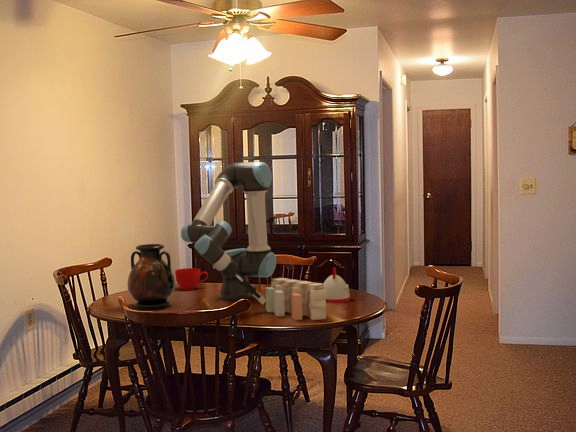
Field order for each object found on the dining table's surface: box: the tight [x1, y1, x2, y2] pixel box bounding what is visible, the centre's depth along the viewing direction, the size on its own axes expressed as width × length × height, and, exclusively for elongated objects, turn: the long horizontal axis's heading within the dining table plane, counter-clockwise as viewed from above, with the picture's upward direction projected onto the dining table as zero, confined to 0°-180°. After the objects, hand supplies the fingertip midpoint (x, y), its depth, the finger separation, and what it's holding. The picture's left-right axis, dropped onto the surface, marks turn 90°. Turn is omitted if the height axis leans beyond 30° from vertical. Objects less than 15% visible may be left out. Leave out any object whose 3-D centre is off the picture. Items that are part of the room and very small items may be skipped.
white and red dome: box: [323, 267, 351, 304], centre depth 316 cm, size 14×14×15 cm
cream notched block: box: [270, 277, 327, 321], centre depth 288 cm, size 31×10×14 cm, turn 44°
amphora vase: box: [127, 243, 176, 310], centre depth 312 cm, size 22×22×28 cm
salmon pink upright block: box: [291, 293, 303, 321], centre depth 278 cm, size 5×3×10 cm, turn 15°
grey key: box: [274, 290, 286, 317], centre depth 286 cm, size 5×3×10 cm, turn 15°
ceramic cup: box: [174, 267, 209, 291], centre depth 354 cm, size 13×17×10 cm
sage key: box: [264, 286, 275, 313], centre depth 294 cm, size 5×3×10 cm, turn 15°
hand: (264, 302), depth 293 cm, fingers closed
